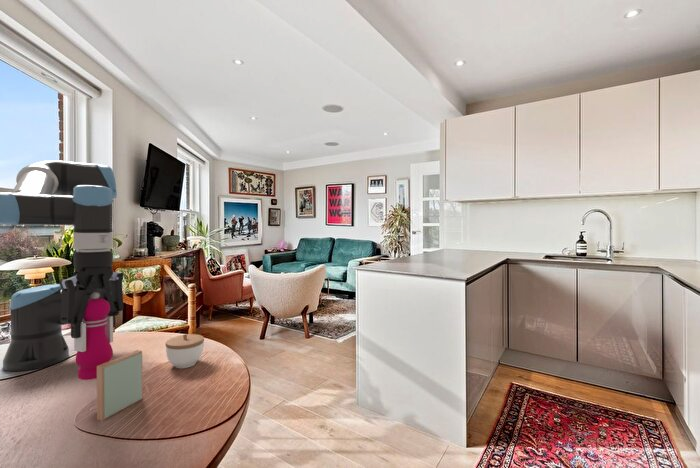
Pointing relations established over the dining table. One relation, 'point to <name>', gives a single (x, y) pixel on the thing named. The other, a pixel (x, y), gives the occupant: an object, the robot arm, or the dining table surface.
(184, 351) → the lidded jar
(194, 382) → the dining table surface
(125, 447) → the dining table surface
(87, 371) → the pepper mill
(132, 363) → the tile
